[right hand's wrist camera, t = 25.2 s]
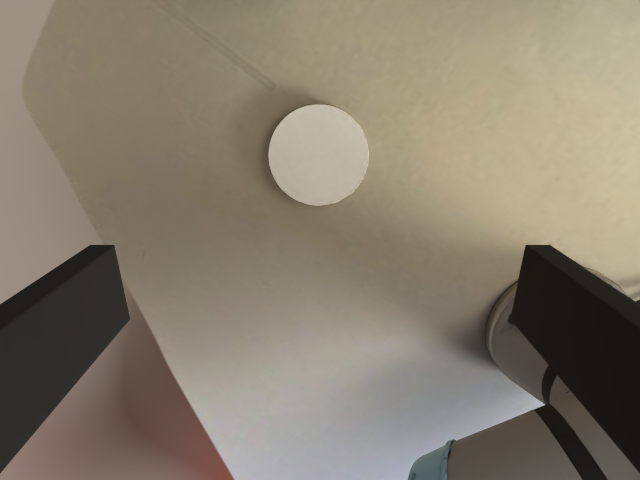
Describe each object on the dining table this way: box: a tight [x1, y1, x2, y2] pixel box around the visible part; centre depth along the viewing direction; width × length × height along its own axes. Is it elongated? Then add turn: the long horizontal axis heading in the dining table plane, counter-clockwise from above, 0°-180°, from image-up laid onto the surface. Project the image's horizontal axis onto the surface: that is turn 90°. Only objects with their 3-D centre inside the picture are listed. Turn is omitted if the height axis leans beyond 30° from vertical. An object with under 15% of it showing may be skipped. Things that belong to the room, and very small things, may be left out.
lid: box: [268, 104, 369, 206], centre depth 36 cm, size 9×9×2 cm
